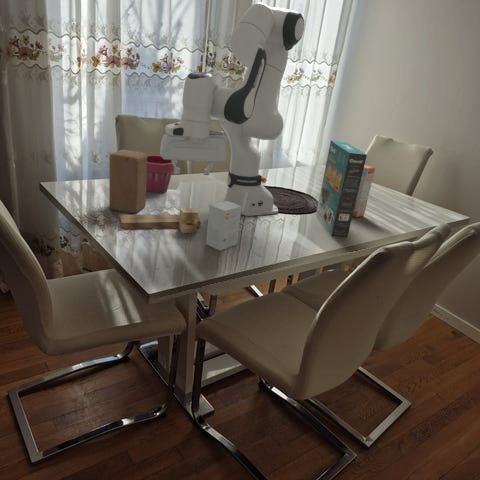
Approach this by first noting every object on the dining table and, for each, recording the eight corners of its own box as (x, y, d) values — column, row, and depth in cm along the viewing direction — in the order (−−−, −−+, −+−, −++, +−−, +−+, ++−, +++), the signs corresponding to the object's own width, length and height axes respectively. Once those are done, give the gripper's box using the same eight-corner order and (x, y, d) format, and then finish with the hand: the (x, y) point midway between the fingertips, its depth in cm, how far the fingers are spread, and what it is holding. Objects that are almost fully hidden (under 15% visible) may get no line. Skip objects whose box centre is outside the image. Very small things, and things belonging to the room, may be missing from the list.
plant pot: (170, 196, 171) (172, 165, 166) (135, 192, 171) (136, 160, 166) (175, 186, 184) (177, 157, 179) (143, 182, 184) (144, 153, 179)
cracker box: (364, 216, 178) (376, 167, 170) (355, 218, 174) (367, 168, 166) (338, 205, 187) (348, 158, 179) (329, 207, 184) (339, 159, 176)
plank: (195, 219, 151) (195, 214, 150) (200, 227, 145) (201, 221, 144) (119, 220, 141) (119, 214, 141) (121, 228, 135) (121, 222, 135)
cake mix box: (347, 237, 152) (366, 154, 141) (331, 236, 152) (349, 152, 140) (330, 216, 172) (346, 142, 161) (315, 215, 171) (330, 140, 160)
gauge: (190, 222, 148) (191, 203, 145) (196, 232, 140) (198, 212, 137) (176, 222, 146) (177, 203, 143) (181, 232, 138) (183, 212, 135)
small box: (222, 238, 138) (226, 200, 133) (237, 244, 135) (242, 206, 130) (205, 244, 132) (208, 204, 127) (220, 251, 129) (224, 210, 124)
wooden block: (135, 214, 148) (136, 158, 140) (108, 209, 149) (108, 153, 141) (146, 206, 157) (148, 152, 149) (121, 201, 158) (121, 148, 150)
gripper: (224, 130, 134) (220, 172, 140) (160, 125, 127) (157, 170, 133) (231, 133, 129) (226, 178, 134) (163, 129, 122) (161, 176, 127)
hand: (191, 174), depth 133 cm, fingers open, 8 cm apart
